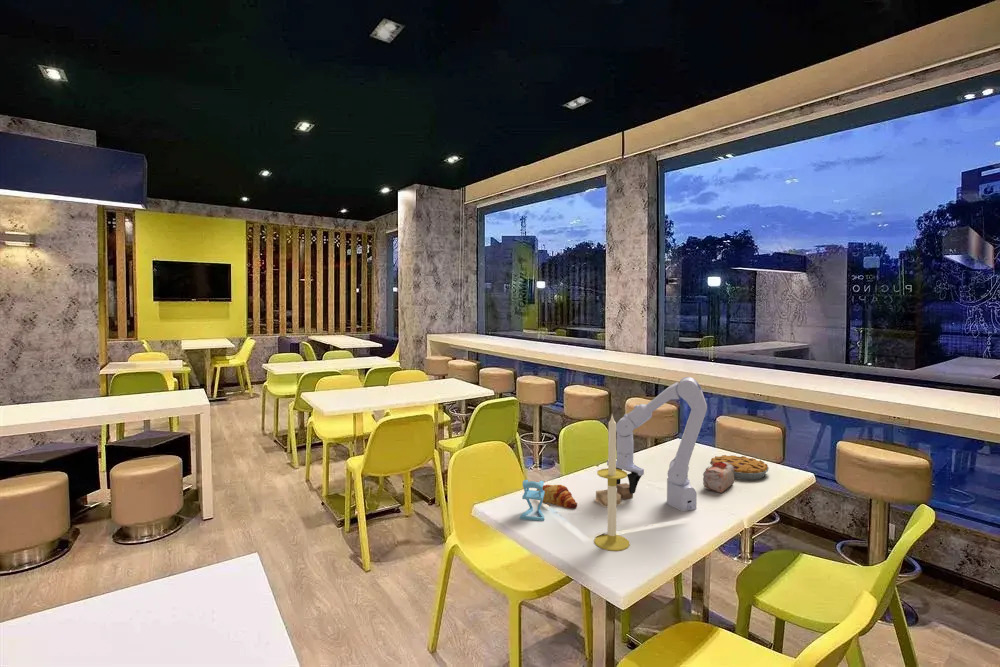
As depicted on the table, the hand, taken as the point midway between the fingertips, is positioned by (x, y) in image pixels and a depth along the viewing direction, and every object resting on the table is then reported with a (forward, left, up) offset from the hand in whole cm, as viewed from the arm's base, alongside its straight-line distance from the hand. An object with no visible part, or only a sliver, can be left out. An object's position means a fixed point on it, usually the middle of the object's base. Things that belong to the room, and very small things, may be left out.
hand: (624, 490), depth 176 cm
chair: (0, +35, -4) cm, 35 cm away
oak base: (-2, +8, -2) cm, 9 cm away
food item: (-2, -40, -4) cm, 40 cm away
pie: (+9, -61, -4) cm, 62 cm away
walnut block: (0, 0, -2) cm, 2 cm away
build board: (-2, +5, -3) cm, 6 cm away
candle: (-26, +22, -4) cm, 34 cm away
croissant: (+7, +23, -4) cm, 24 cm away
